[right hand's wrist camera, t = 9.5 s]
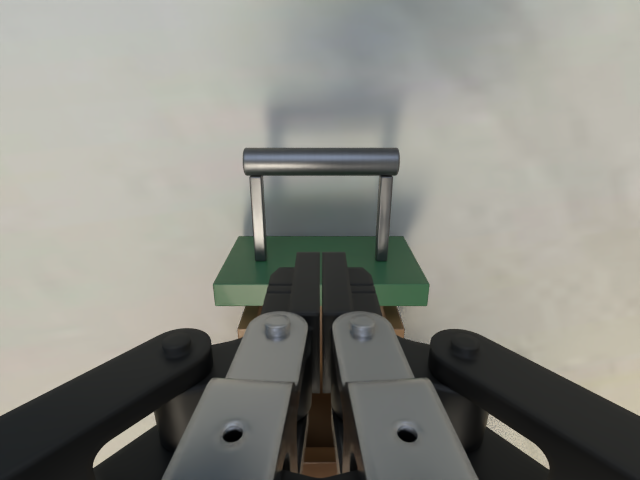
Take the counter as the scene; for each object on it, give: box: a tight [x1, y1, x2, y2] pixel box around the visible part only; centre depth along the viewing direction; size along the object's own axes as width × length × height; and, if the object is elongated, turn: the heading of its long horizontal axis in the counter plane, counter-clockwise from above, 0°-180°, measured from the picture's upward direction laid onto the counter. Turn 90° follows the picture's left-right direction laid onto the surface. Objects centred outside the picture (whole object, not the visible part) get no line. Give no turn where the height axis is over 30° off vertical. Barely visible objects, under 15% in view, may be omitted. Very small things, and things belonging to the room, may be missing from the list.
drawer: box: [213, 148, 429, 447], centre depth 24 cm, size 25×10×6 cm, turn 0°
